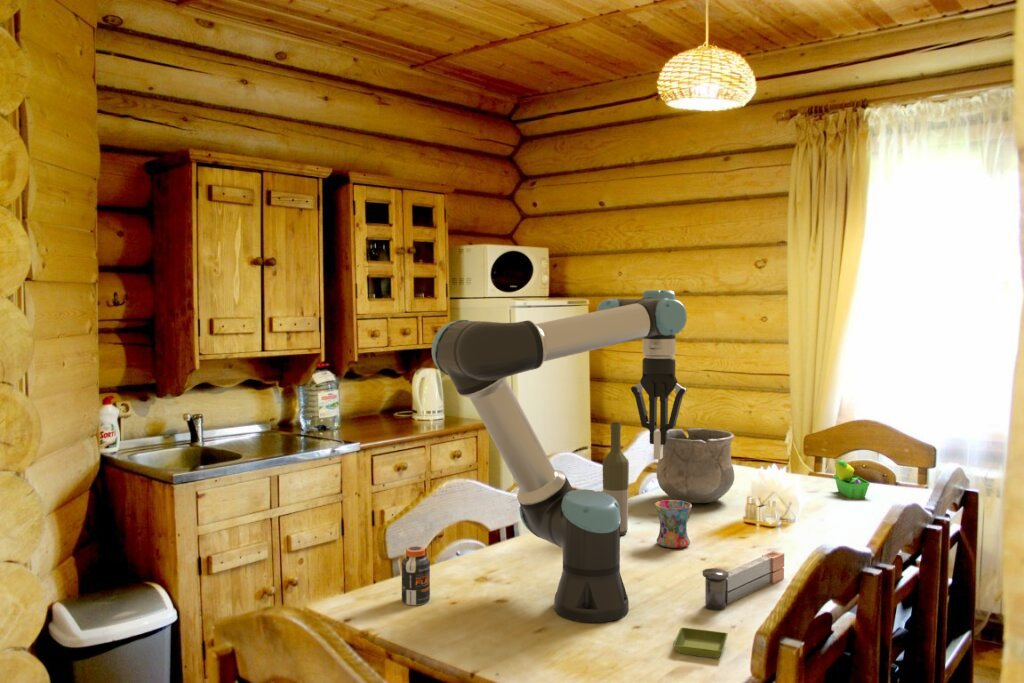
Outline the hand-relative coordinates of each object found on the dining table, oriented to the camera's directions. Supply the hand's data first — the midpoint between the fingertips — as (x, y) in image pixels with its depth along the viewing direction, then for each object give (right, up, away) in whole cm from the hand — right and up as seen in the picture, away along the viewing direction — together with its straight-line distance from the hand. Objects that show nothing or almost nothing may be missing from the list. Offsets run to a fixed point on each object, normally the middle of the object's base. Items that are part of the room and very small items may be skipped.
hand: (658, 458), depth 195 cm
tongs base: (+16, -27, -14) cm, 35 cm away
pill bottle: (-54, -28, -18) cm, 64 cm away
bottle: (-6, -25, +31) cm, 40 cm away
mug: (+8, -25, +21) cm, 34 cm away
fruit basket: (+74, -22, +73) cm, 106 cm away
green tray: (0, -29, -43) cm, 52 cm away
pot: (+23, -23, +66) cm, 73 cm away
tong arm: (+18, -24, -13) cm, 33 cm away
